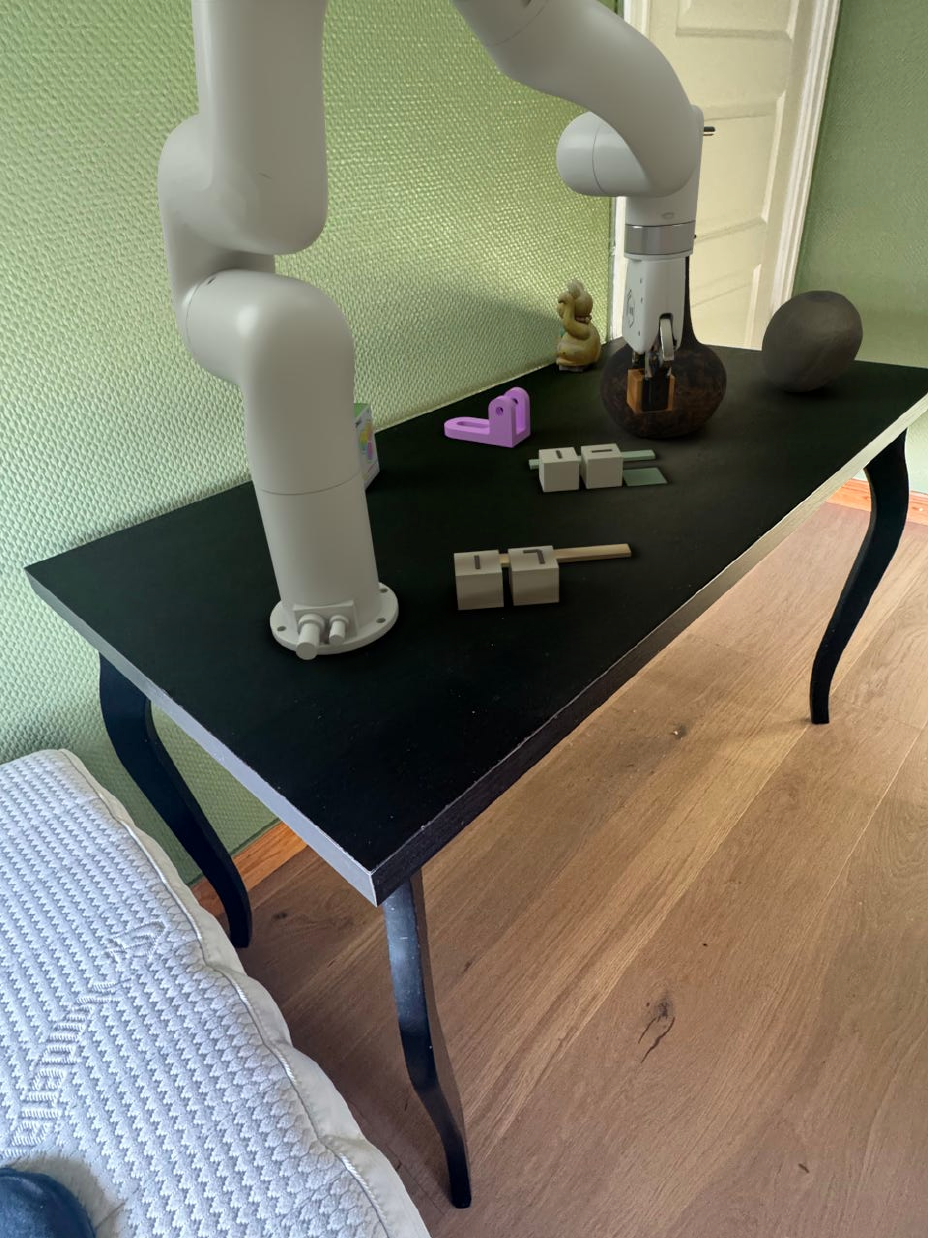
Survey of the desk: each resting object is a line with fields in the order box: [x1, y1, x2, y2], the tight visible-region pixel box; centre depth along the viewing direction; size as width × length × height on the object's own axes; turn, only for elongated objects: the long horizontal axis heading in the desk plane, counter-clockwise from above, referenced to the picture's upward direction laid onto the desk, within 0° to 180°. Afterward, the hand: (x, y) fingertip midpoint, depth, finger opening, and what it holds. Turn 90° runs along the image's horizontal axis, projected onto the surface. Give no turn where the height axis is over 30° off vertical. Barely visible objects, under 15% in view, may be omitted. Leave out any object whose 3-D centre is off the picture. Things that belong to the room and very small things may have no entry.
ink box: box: [354, 402, 380, 491], centre depth 100 cm, size 7×4×13 cm, turn 168°
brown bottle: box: [599, 234, 728, 439], centre depth 106 cm, size 18×18×28 cm
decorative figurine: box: [555, 278, 602, 373], centre depth 138 cm, size 10×8×15 cm
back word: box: [528, 443, 668, 493], centre depth 100 cm, size 10×17×4 cm, turn 93°
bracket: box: [443, 386, 531, 448], centre depth 114 cm, size 13×6×7 cm, turn 58°
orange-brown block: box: [627, 369, 674, 414], centre depth 93 cm, size 4×4×4 cm
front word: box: [453, 543, 632, 611], centre depth 79 cm, size 10×19×4 cm, turn 93°
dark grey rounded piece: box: [760, 290, 864, 393], centre depth 118 cm, size 14×14×15 cm
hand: (648, 401), depth 94 cm, fingers closed on orange-brown block, 4 cm apart
